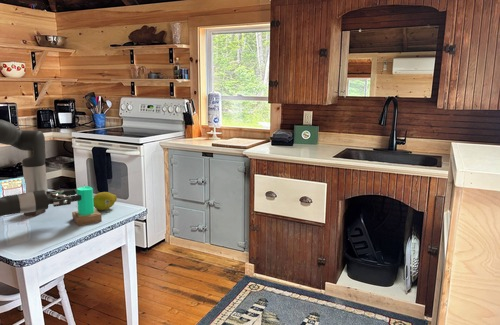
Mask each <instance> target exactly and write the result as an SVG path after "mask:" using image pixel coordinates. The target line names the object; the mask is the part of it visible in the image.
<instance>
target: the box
mask: <svg viewBox="0 0 500 325" xmlns="http://www.w3.org/2000/svg"><path fill="white" fill-rule="evenodd" d="M44 213H46V210H40V211H34V212H28V213H23V215H24V216H33V217H37V216H40V215H42V214H44Z"/></svg>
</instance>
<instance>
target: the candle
mask: <svg viewBox="0 0 500 325" xmlns="http://www.w3.org/2000/svg"><path fill="white" fill-rule="evenodd" d="M76 195H81V200H80V201H76V202H77V211H78V214H79V215H90V214H93V213H94V208H95V207H94V202H93V198H94V188H93V187H91V186H85V184H84V186H80V187H78V188H76Z"/></svg>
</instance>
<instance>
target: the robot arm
mask: <svg viewBox="0 0 500 325" xmlns="http://www.w3.org/2000/svg"><path fill="white" fill-rule="evenodd" d="M0 144H2V145H6V146H11V147H13V148H16V149H18V150H20V151H26V152H27V151H31V152H32V155H31V156H28V157H26V158H23V159H22V160H21V163H22V164H21V165H22V173H23V180H24V179H25V183H26V193H25V192H22V193H18V194H10V195H6V196H5V195H4V196H0V217H2V216H10V215H17V214H24V213H28V212H34V211H40V210H45V211H46V210H48V209H49V205H52V206H53V207H60V206H61V207H62V206H67V205H68V206H69V205H71V203H73V202H77V201H80V200H81V195H77V191H76V190H75V189H68V190H66V189H65V190H64V189H62V188H61V189H55V190H48V180H47V179H48V178H47V168H46V167H47V166H46V139H45V135H44V133H43V131H41V130H27V129H26V130H21V129H18V128H17V127H16V125H14V124H13V123H11V122H9V121H6V120H3V119H0Z"/></svg>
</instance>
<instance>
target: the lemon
mask: <svg viewBox="0 0 500 325" xmlns="http://www.w3.org/2000/svg"><path fill="white" fill-rule="evenodd" d="M117 199H118V197H117V195H116V194H113V193H111V192H108V191H102V192H98V193H96V194H95V195H93V202H94V208H95V209H96V210H97V211H106V210H108V209H110V208H112V207H113V206H114V205H115V203H116V202H117Z"/></svg>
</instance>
